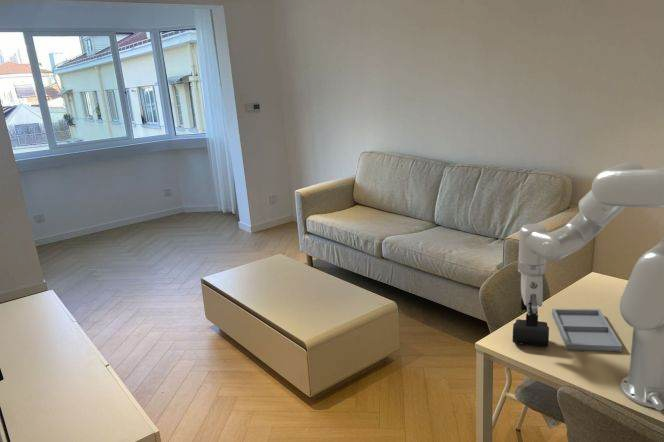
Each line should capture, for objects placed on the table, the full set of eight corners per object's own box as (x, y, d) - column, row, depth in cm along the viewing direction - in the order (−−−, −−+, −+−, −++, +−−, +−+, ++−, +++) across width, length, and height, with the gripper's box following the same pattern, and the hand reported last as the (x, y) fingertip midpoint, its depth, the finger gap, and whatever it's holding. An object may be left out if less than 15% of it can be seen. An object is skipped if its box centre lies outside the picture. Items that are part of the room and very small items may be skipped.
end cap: (512, 347, 151) (512, 328, 149) (514, 336, 157) (514, 317, 155) (548, 352, 146) (548, 332, 145) (548, 340, 153) (549, 320, 151)
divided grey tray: (621, 352, 143) (622, 346, 142) (567, 350, 146) (567, 344, 146) (599, 314, 164) (599, 309, 163) (552, 314, 167) (552, 308, 167)
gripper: (551, 279, 135) (547, 333, 141) (540, 254, 151) (537, 304, 157) (522, 278, 137) (519, 332, 143) (514, 254, 153) (512, 303, 158)
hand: (528, 317), depth 150 cm, fingers open, 9 cm apart
